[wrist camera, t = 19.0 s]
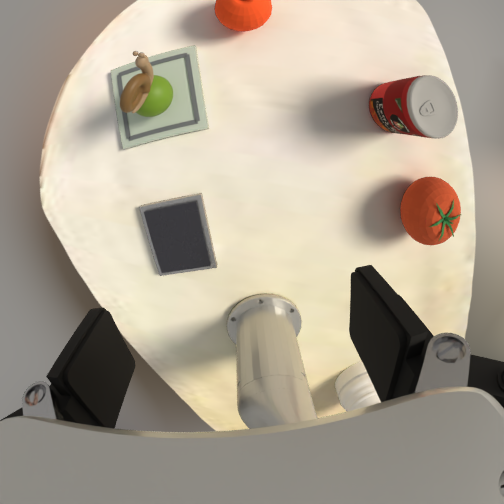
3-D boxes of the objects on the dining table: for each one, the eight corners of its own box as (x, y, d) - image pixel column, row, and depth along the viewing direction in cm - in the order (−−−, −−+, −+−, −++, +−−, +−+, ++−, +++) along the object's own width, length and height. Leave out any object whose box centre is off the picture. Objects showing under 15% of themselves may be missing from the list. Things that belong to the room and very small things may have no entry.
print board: (209, 128, 33) (208, 128, 32) (125, 148, 34) (122, 149, 33) (196, 46, 28) (194, 44, 27) (113, 71, 28) (110, 70, 28)
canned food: (357, 104, 32) (397, 99, 22) (389, 73, 30) (433, 62, 20) (390, 143, 35) (435, 152, 25) (419, 112, 33) (466, 114, 23)
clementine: (237, -13, 24) (237, -37, 18) (282, 6, 26) (290, -16, 19) (206, 26, 27) (200, 5, 21) (252, 46, 29) (255, 28, 22)
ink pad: (217, 264, 42) (216, 269, 40) (161, 272, 42) (158, 277, 40) (201, 192, 37) (200, 195, 36) (141, 205, 37) (137, 208, 36)
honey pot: (387, 379, 58) (413, 436, 41) (340, 400, 59) (358, 460, 43) (383, 350, 52) (417, 414, 36) (329, 373, 54) (351, 443, 38)
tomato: (419, 158, 36) (460, 170, 27) (445, 204, 39) (482, 224, 30) (377, 200, 38) (412, 222, 29) (407, 243, 42) (440, 271, 33)
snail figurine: (187, 79, 30) (164, 57, 19) (167, 123, 32) (134, 121, 21) (151, 67, 28) (115, 45, 18) (131, 110, 31) (88, 106, 20)
